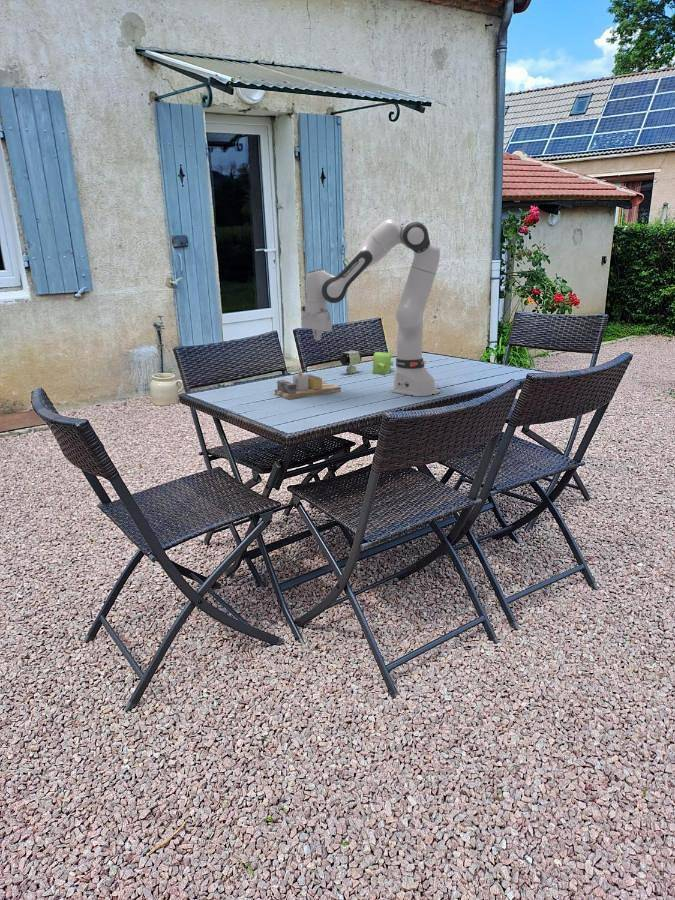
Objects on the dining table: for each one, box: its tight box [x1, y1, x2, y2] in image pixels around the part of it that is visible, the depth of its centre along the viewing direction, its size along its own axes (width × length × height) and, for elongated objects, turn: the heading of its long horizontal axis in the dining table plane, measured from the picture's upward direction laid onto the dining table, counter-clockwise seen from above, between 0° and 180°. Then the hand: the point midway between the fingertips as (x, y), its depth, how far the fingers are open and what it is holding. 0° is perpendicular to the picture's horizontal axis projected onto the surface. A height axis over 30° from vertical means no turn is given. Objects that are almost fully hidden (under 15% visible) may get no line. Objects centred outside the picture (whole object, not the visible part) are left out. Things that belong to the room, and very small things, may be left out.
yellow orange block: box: [306, 374, 323, 389], centre depth 299 cm, size 10×4×5 cm, turn 32°
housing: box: [292, 370, 309, 391], centre depth 295 cm, size 5×5×8 cm
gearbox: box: [372, 351, 394, 375], centre depth 339 cm, size 18×10×10 cm, turn 172°
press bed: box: [274, 379, 342, 401], centre depth 298 cm, size 14×26×6 cm, turn 121°
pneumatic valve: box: [339, 349, 363, 375], centre depth 338 cm, size 6×12×12 cm, turn 136°
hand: (317, 339), depth 295 cm, fingers closed
